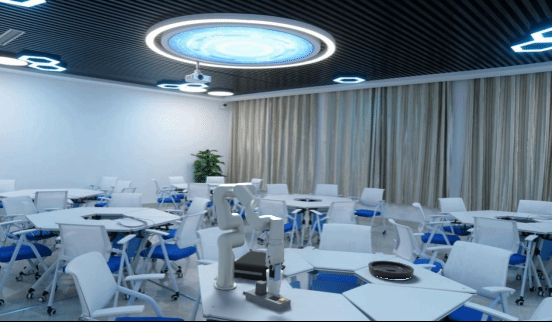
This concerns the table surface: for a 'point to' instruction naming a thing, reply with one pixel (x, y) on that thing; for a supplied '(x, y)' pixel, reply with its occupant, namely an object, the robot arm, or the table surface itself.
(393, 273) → the round tray
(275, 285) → the foam cup
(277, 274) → the block
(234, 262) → the robot arm
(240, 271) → the briefcase
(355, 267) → the table surface
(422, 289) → the table surface
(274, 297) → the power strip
